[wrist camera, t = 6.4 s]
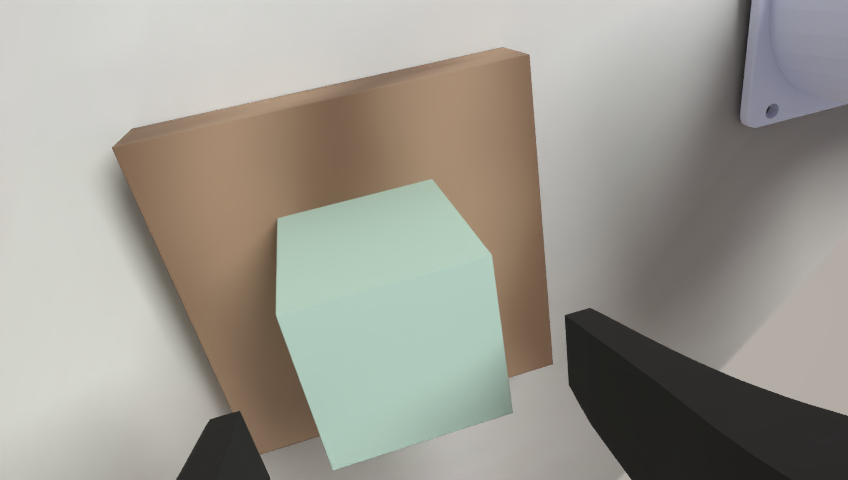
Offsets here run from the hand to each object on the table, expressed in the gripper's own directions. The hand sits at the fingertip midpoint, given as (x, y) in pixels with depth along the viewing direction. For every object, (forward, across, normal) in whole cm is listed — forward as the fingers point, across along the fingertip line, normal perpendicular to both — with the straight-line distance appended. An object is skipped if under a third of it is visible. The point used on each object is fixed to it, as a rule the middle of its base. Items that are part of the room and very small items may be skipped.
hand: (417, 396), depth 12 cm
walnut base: (+8, 0, 0) cm, 8 cm away
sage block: (+6, 0, 0) cm, 6 cm away
